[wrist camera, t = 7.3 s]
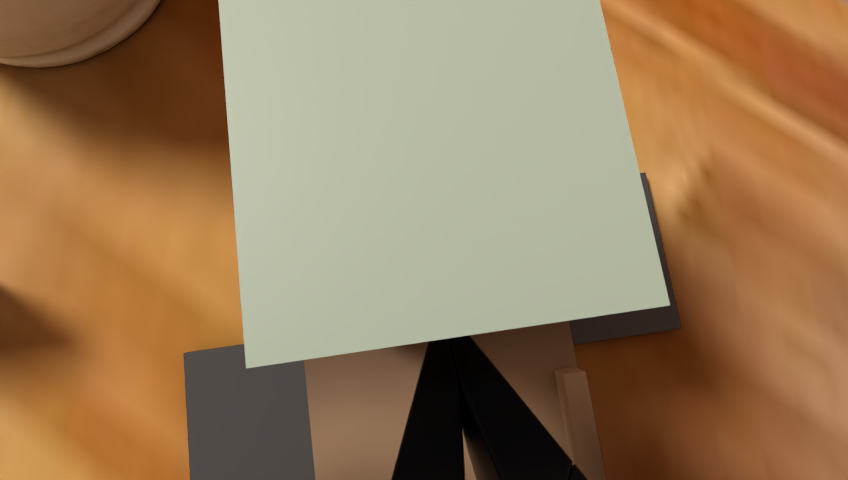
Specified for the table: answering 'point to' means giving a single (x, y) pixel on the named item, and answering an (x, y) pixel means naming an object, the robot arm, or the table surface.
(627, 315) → the pads
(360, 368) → the brown tray
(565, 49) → the block
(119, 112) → the table surface
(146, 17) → the jug
